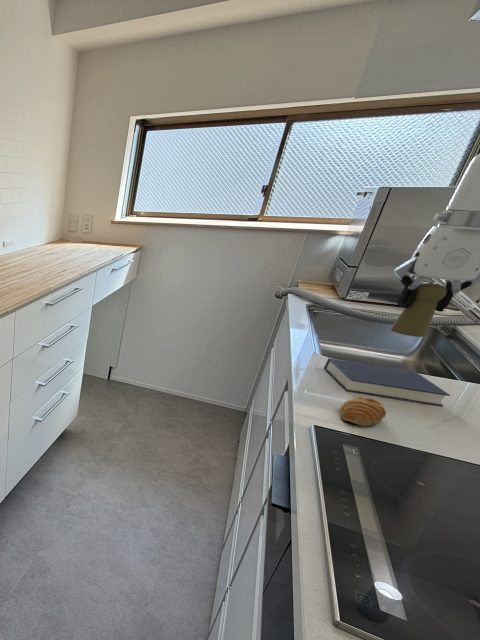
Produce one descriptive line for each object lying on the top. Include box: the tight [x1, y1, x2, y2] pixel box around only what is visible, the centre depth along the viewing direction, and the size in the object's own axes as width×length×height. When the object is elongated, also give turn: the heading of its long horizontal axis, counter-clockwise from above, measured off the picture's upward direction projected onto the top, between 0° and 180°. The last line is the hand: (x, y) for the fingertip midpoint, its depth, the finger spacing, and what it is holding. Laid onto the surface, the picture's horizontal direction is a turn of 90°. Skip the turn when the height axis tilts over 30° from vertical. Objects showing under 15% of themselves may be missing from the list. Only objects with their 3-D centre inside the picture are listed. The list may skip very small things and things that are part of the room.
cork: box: [389, 282, 447, 338], centre depth 91 cm, size 6×6×11 cm
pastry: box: [340, 396, 387, 427], centre depth 85 cm, size 9×7×4 cm
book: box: [323, 357, 451, 407], centre depth 101 cm, size 18×14×3 cm
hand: (419, 307), depth 91 cm, fingers closed on cork, 5 cm apart
